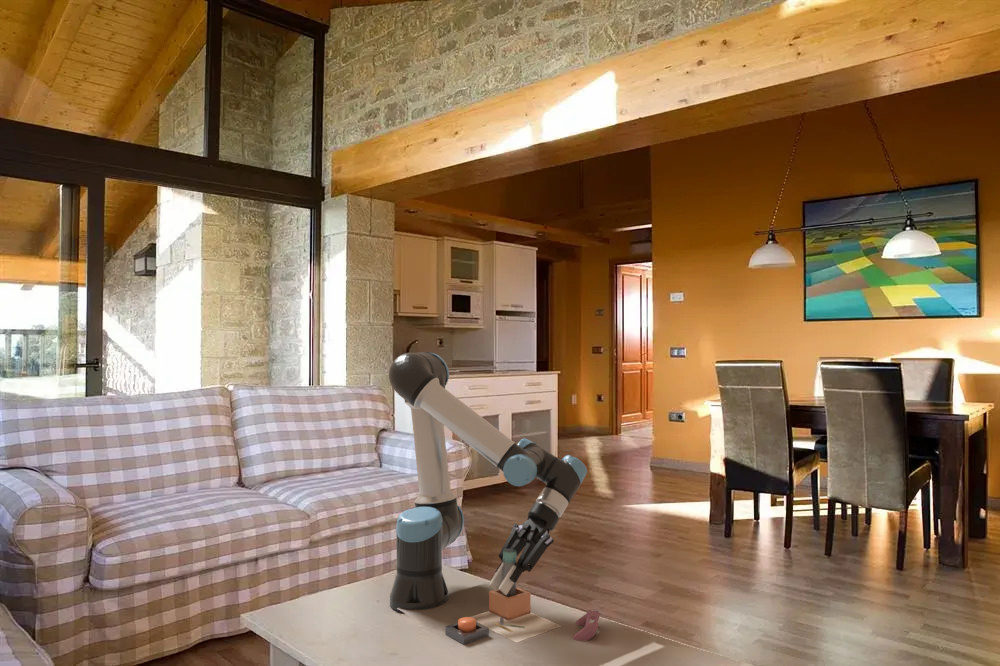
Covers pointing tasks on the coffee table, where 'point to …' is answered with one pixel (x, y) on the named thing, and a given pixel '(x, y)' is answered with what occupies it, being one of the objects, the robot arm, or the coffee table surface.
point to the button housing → (467, 637)
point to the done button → (466, 624)
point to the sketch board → (516, 625)
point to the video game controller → (588, 626)
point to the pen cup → (510, 604)
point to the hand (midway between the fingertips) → (497, 589)
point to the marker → (509, 567)
